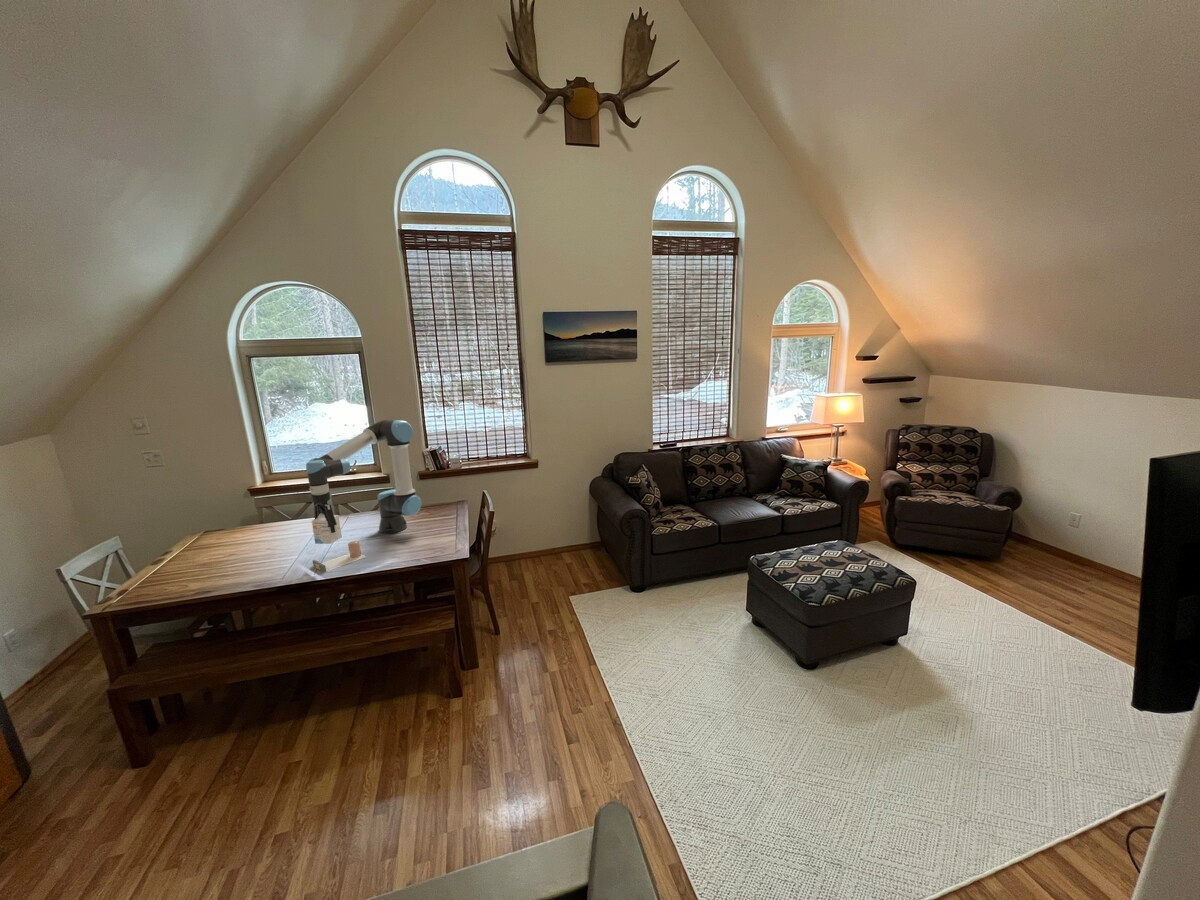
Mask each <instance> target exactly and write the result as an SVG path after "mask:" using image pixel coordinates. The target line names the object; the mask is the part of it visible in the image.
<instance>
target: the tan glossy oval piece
mask: <svg viewBox="0 0 1200 900" xmlns="http://www.w3.org/2000/svg"><path fill="white" fill-rule="evenodd" d="M347 545H348V554H349V553H350V557H351V558H356V557H359V556H361V554H362V552H361V545H360V540H352V541H349V542H348V543H347Z"/></svg>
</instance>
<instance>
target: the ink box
mask: <svg viewBox="0 0 1200 900" xmlns="http://www.w3.org/2000/svg"><path fill="white" fill-rule="evenodd" d="M333 514H334V517H335V520H336V523H337V525H335V530H336V535H337V538H335V539H332V540H330V535H329V530H328V527H327V526H329V525H328V522H327V521H326V518H325V516H324V515H323V514H322V513H320V514H319V516H318V518H316V519H315V518H314V519H312V520H311V525H312V526H311V527H312V532H313V538H314V543H315V544H316V545H319V544H320V545H322V544H323V545H328V544H329V545H331V544H334V543H335V542H336V541H338V540H340V539H341V538H342V537H343V535H342V528H341V524H340V523H341V521H340V515H338V514H335V513H334V512H333ZM342 539H343V538H342Z"/></svg>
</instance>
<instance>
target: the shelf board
mask: <svg viewBox="0 0 1200 900" xmlns="http://www.w3.org/2000/svg"><path fill="white" fill-rule="evenodd" d="M364 558H367V556H366V555H364V554H362V553H361V556H359V557H356V558H351V557H350V553H349V552H348V553H347V554H344V555H341V556H338V557H336V558H332V559H329V560H326V561H324V562H322V563H321V562H320V561H318V560H316V559H313V560H312V566H313V567H314V568H316V569H318V570H319V571H320V572H323V573H326V572H329V571H331V570H335V569H337V568H340V567H343V566H345V565H348V564H352V563H354V562H356V561H359V560H361V559H364Z"/></svg>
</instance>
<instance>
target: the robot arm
mask: <svg viewBox="0 0 1200 900" xmlns="http://www.w3.org/2000/svg"><path fill="white" fill-rule="evenodd" d="M413 436H414V429H413V427H412V425H411V424H410V423H409V422H408V421H407V420H406V421H405V420H400V419H382V420H379V421H377V422H375V423H373V424H371V425H369V426H367V427H366V428H364V429H363V431H362V432H361V433H359V434H357V435H356V436H355V437H352V438H351V439H349V440H348V441H346V442H344V443H342V444H341V445H338V447H336V448H334V449H332V450H330V451H329V452H326V454H324V455H322V456H320V457H315V458H311V459H310V460H309V461H307V463H306V464H305V467H306V475H307V479H308V486H309V488H308V490H309V491H310V494H311V502H312V503H313V507H314V508H313V509H314V511H313V513H314V519H316V518H318V516H319V514H320V513H322V514H323V515H324V516H325V518H326V521H327V522H328V525H329V526H327V527H328V530H329V535H330V540H332V539H335V538H337V535H336V530H335V525H337V523H336V520H335V517H334V515H335V513H334V511H333V508H332V505H331V504H329V503H328V502H329V501H330V500H331V494H330V488H329V482H328V479H331V478H335V477H338V476H341V475H345V474H348V473H349V472H350V471H351V468H352V467H351V463H350V461H349V460H348V459H349V458H351V457H353V456H354V455H356V454H357V453H359V452H361V451H362V450H364V449H365V448H368V447H369V446H370V445H376V444H378V443H379V442H384V441H386V444H387V447H389V449H390V453H391V461H392V469H393V476H394V477H393V478H394V483H395V489H393V488H392V489H388V490H385V491H382V492H379V493H378V494H377V503H378V510H379V515H380V521H379V525H378V531H379V532H380V534H394V533H398V532H401V531H404V530H405V529H406V530H407V528H408V523H407V521H406V519H405V516H407V517H408V516H415V515H416V514H417V513H418V512H419V511H420V509H421V507H422V498H420V496H419V495H417V492H416V489H415V488H413V484H412V476H411V475H412V474H411V473H412V472H411V464H410V456H409V449H408V447H409V446H410V444H411V440H412V438H413ZM333 513H334V514H333Z"/></svg>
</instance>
